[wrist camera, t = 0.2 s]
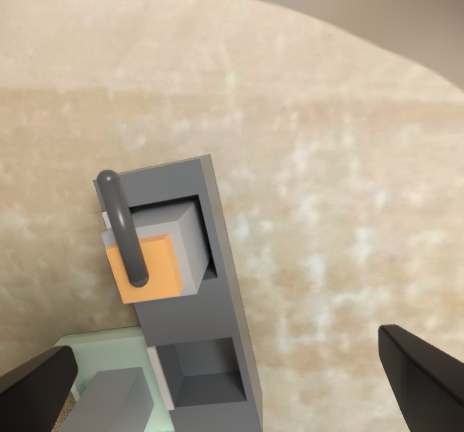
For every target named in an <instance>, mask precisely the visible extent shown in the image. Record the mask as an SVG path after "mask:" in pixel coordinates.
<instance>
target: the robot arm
mask: <svg viewBox="0 0 464 432" xmlns="http://www.w3.org/2000/svg"><path fill="white" fill-rule="evenodd" d="M378 347H379V357H380V360H381V363H382V365H383V368H384V370H385V373H386V375H387V378H388V380H389V383H390V385H391V387H392V390H393V392H394V395H395V397H396V400H397V402H398V405H399V407H400V410H401V412H402V415H403V417H404V419H405V421H406V424H407V426H408V428H409V430H410V432H464V363H463V362H461V361H459V360H457V359H456V358H454V357H452V356H450V355H449V354H447V353H445V352H443V351H442V350H440V349H438V348H436V347H435V346H433V345H431V344H429V343H428V342H426V341H424V340H422V339H421V338H419V337H417V336H415V335H414V334H412V333H410V332H408V331H407V330H405V329H403V328H401V327H400V326H398V325H395V324H390V325H381V326H380V327H379V329H378ZM77 374H78V365H77V362H76V359H75V356H74V353H73V350H72V348H71V347H70V346H69V345H61V346H55V347H53V348H51V349H49V350H47V351H46V352H44V353H42V354H40V355H38V356H37V357H35V358H33V359H31V360H30V361H28V362H26V363H24V364H22V365H21V366H19V367H17V368H15V369H13V370H12V371H10V372H8V373H6V374H5V375H3V376H1V377H0V432H51V431H52V429H53V427H54V425H55V423H56V421H57V418H58V416H59V414H60V412H61V410H62V408H63V405H64V403H65V401H66V399H67V397H68V395H69V392H70V390H71V388H72V386H73V384H74V381H75V379H76V377H77Z"/></svg>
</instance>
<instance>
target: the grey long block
mask: <svg viewBox="0 0 464 432" xmlns="http://www.w3.org/2000/svg"><path fill="white" fill-rule="evenodd" d="M118 175H119V177H120V180H121V184H122V187H123V190H124V193H125V197H126V200H127V203H128V207H129V210H130V213H131V215H132V214H134V213H135V212H137V211H138V210H140V209H141V208H144V207H149V206H154V205H160V204H165V203H170V202H176V201H181V200H187V199H192V198H197V197H199V199H200V203H201V208H202V212H203V216H204V220H205V225H206V229H207V233H208V237H209V242H210V246H211V250H212V255H211V257H210V260H209V263H208V265H207V268H206V271H205V273H204V276H203V279H202V281H201V284H200V287H199V289H198V292H197V294H193V295H186V296H179V297H172V298H165V299H158V300H150V301H143V302H136V303H133V304H134V307H135V310H136V313H137V316H138V319H139V322H140V326H141V329H142V332H143V335H144V338H145V341H146V344H147V352H148V355H149V358H150V361H151V364H152V367H153V370H154V373H155V376H156V379H157V382H158V385H159V388H160V391H161V394H162V397H163V401H164V404H165V407H166V410H168V411H169V414H170V417H171V420H172V423H173V426H174V429H175V432H263V413H262V390H261V386H260V381H259V376H258V372H257V367H256V363H255V358H254V353H253V349H252V344H251V340H250V335H249V330H248V326H247V321H246V317H245V312H244V307H243V303H242V298H241V294H240V289H239V284H238V280H237V275H236V270H235V266H234V261H233V257H232V252H231V247H230V243H229V238H228V234H227V229H226V224H225V220H224V215H223V211H222V206H221V201H220V197H219V192H218V188H217V183H216V178H215V174H214V169H213V165H212V160H211V155H210V154H209V155H204V156H199V157H195V158H190V159H185V160H180V161H175V162H170V163H165V164H161V165H156V166H151V167H146V168H141V169H136V170H131V171H127V172H122V173H118ZM93 182H94V185H95V188H96V191H97V194H98V197H99V200H100V203H101V206H102V209H103V212H102V215H103V218H104V221H105V224H106V227H107V230H108V229H110V228H111V224H110V221H109V218H108V215H107V212H106V209H105V206H104V203H103V200H102V196H101V193H100V190H99V187H98V184H97V179H96V180H93Z"/></svg>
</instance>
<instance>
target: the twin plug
mask: <svg viewBox="0 0 464 432" xmlns="http://www.w3.org/2000/svg"><path fill="white" fill-rule="evenodd" d="M97 184H98V187H99V190H100V193H101V196H102V200H103V203H104V206H105V209H106V212H107V215H108V218H109V221H110V224H111V228H110V229H108V230H107V231H105V232H103V233H102V234H101V236H102V239H103V242H104V245H105V248H106V249H105V251H106V254H107V256H108V259H109V262H110V265H111V268H112V271H113V274H114V277H115V280H116V283H117V286H118V289H119V292H120V295H121V298H122V301H123V304H129V303H136V302H143V301H150V300H158V299H165V298H172V297H179V296H186V295H193V294H197V292H198V289H199V287H200V284H201V281H202V279H203V276H204V273H205V271H206V268H207V265H208V263H209V260H210V257H211V255H212V250H211V246H210V242H209V237H208V233H207V229H206V225H205V220H204V216H203V212H202V208H201V203H200V199H199V197H197V198H192V199H187V200H181V201H176V202H170V203H165V204H160V205H154V206H149V207H144V208H141V209H140V210H138V211H137V212H135V213H134V214H132V215H131V213H130V210H129V207H128V203H127V200H126V197H125V193H124V190H123V187H122V184H121V180H120V177H119V175H118V174H117V173H116V172H115V171H113V170H103V171H101V172H100V173H99V174H98V176H97Z"/></svg>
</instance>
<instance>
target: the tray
mask: <svg viewBox="0 0 464 432" xmlns="http://www.w3.org/2000/svg"><path fill="white" fill-rule="evenodd" d="M61 345H69V346H70V347H71V348H72V350H73V353H74V356H75V359H76V362H77V365H78V374H77V377H76V379H75V381H74V384H73V386H72V388H71V392H72V394H73V397H74V399H75V401H76V403H77V401H78V400H79V398H80V397H81V395H82V394H83V392H84V391H85V389H86V388H87V386H88V385H89V383H90V382H91V380H92V379H93V378H94V376H95V375H96V373H97V372H98V371H106V370H115V369H125V368H134V367H142V369H143V372H144V375H145V378H146V381H147V384H148V387H149V390H150V393H151V396H152V398H153V401H154V407H153V410H152V412H151V415H150V418H149V420H148V423H147V425H146V428H145V431H144V432H175V429H174V426H173V423H172V420H171V417H170V414H169V411H168V410H166V407H165V404H164V401H163V397H162V394H161V391H160V388H159V385H158V382H157V379H156V376H155V373H154V370H153V367H152V364H151V361H150V358H149V355H148V352H147V344H146V341H145V338H144V335H143V332H142V329H141V326H134V327H126V328H119V329H111V330H103V331H95V332H88V333H80V334H72V335H64V336H63V337H62V338H61V339H60V340H59V341H58V342H57V343H56V344H55V345H54V346H53V347H55V346H61Z"/></svg>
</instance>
